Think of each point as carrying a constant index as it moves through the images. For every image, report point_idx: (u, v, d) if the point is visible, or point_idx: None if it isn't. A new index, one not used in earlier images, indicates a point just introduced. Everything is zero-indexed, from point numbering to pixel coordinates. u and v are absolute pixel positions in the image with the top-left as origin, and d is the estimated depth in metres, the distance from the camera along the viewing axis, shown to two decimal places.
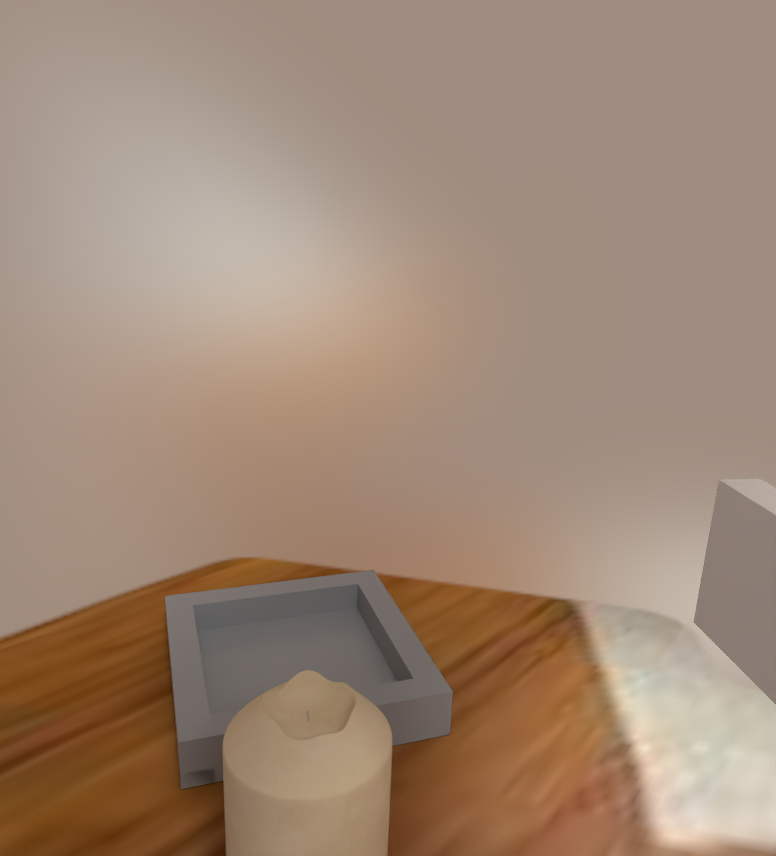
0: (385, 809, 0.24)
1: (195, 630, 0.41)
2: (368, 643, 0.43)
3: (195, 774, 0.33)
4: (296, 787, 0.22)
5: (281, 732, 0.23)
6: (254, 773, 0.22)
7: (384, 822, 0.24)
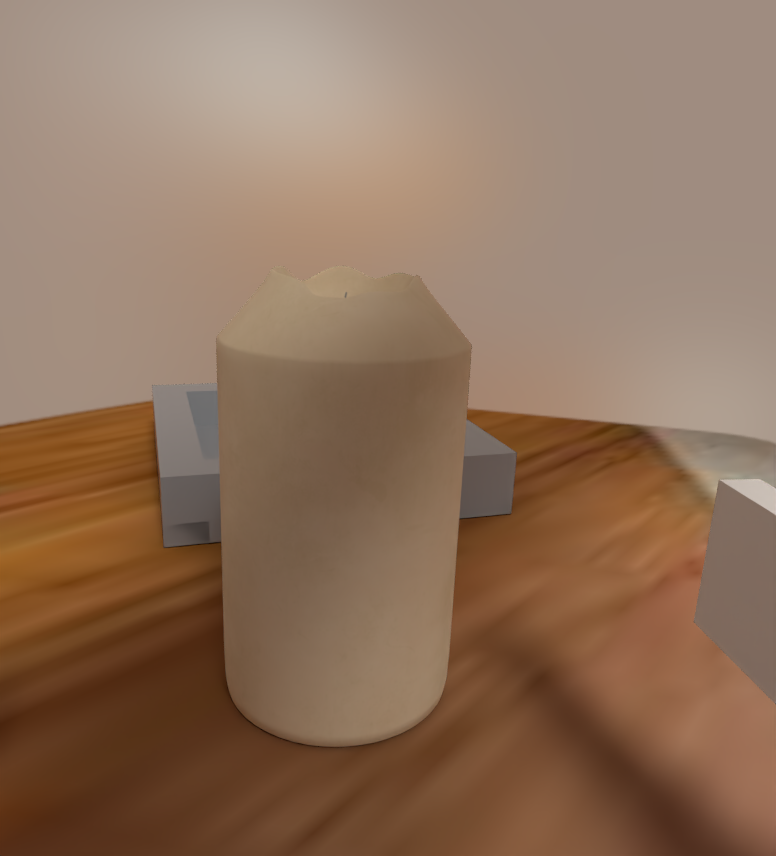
0: (461, 441, 0.16)
1: (188, 406, 0.33)
2: None
3: (183, 528, 0.25)
4: (331, 346, 0.14)
5: (307, 291, 0.15)
6: (264, 337, 0.14)
7: (459, 463, 0.16)
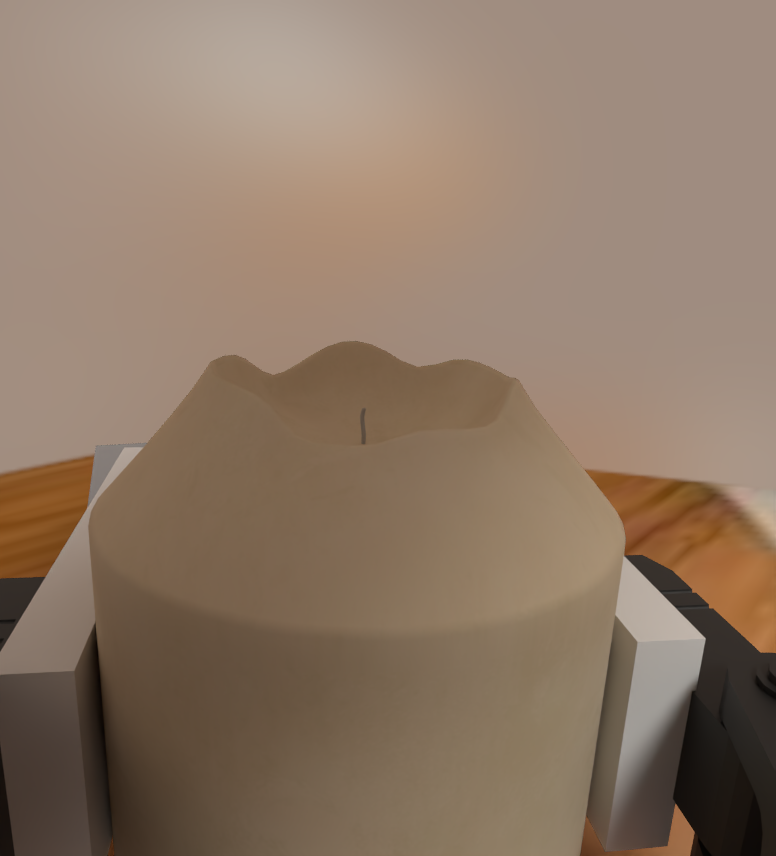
0: (600, 715, 0.08)
1: None
2: None
3: None
4: (337, 589, 0.06)
5: (280, 427, 0.07)
6: (177, 550, 0.06)
7: (594, 756, 0.08)
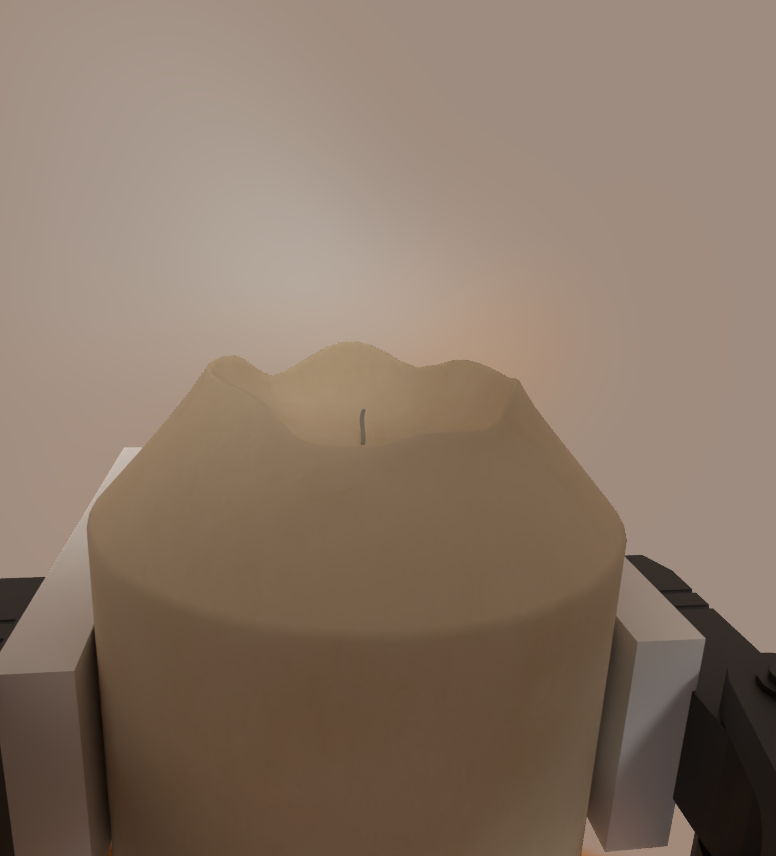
0: None
1: None
2: None
3: None
4: (335, 593, 0.06)
5: (279, 427, 0.07)
6: (175, 551, 0.06)
7: None
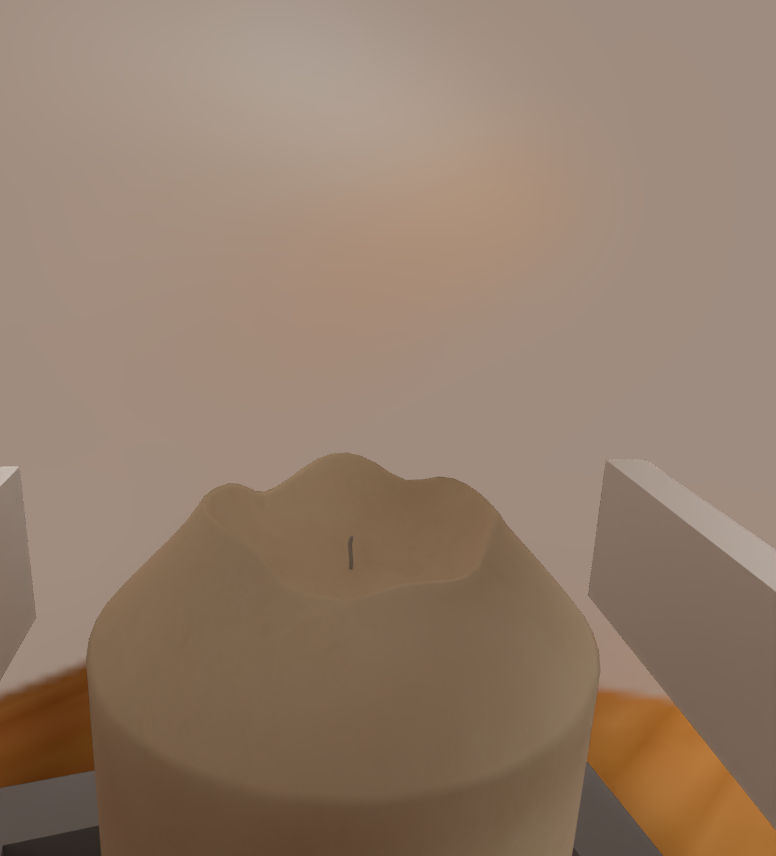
0: (575, 831, 0.08)
1: None
2: None
3: None
4: (319, 756, 0.06)
5: (269, 576, 0.07)
6: (171, 705, 0.06)
7: None
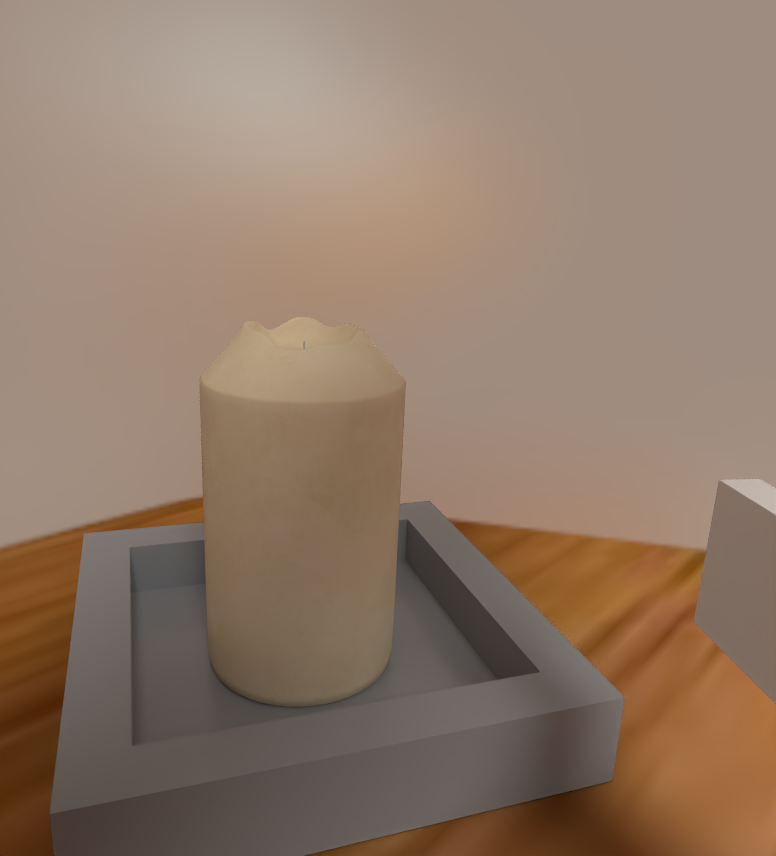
0: (396, 461, 0.20)
1: (127, 586, 0.23)
2: (432, 613, 0.25)
3: None
4: (288, 390, 0.18)
5: (271, 343, 0.19)
6: (236, 381, 0.18)
7: (395, 478, 0.20)
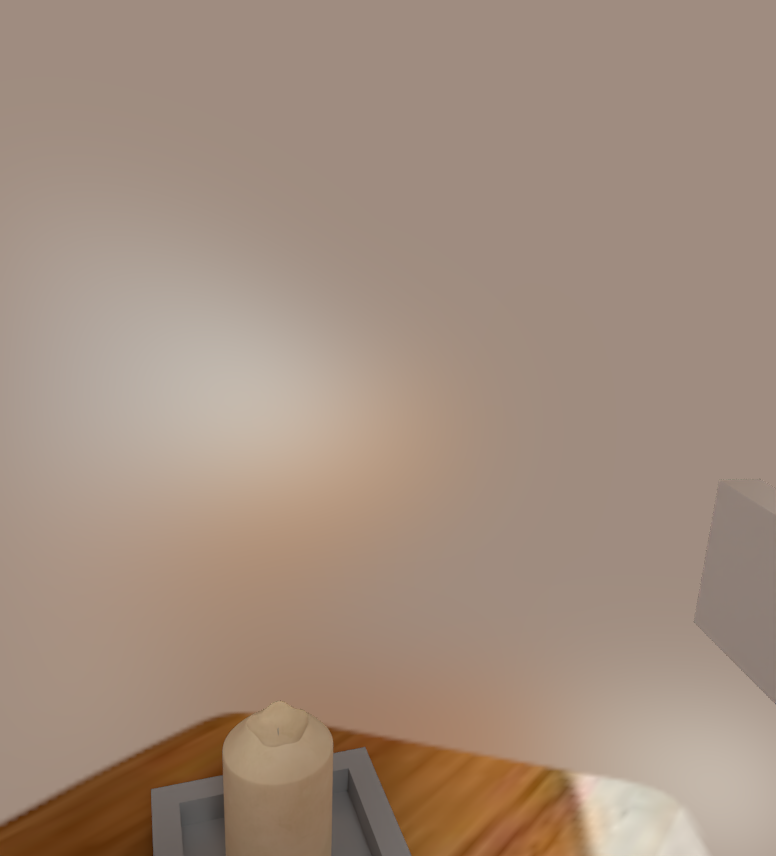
0: (327, 792, 0.37)
1: (181, 840, 0.40)
2: (358, 843, 0.42)
3: None
4: (267, 777, 0.35)
5: (259, 742, 0.36)
6: (241, 767, 0.35)
7: (327, 801, 0.37)
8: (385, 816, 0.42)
